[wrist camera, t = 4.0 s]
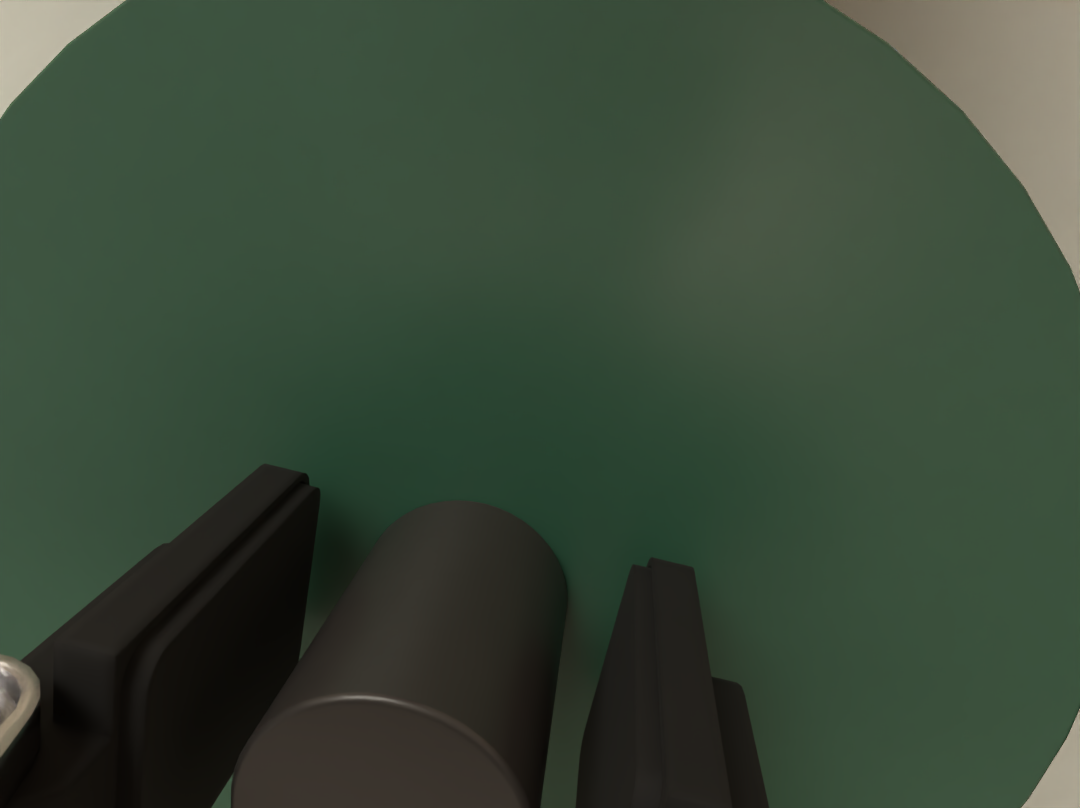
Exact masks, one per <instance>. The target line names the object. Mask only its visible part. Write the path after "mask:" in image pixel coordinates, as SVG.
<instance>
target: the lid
mask: <svg viewBox="0 0 1080 808" xmlns="http://www.w3.org/2000/svg"><path fill="white" fill-rule="evenodd" d="M263 464H269V465H274V466H278V467H282V468H286V469H290V470H294V471H298V472H303V473H307V475H308V477H309V483H310V484H309V485H310V486H314V487H318V488H319V489H320V493H321V498H320V507H319V514H318V522H317V529H316V537H315V544H314V552H313V559H312V567H311V575H310V582H309V590H308V597H307V605H306V612H305V620H304V627H303V635H302V642H301V650H300V657H299V662H298V664H297V665H296V667H295V668H294V670H293V672H292V673H291V675H290V676H289V678H288V679H287V681H286V682H285V684H284V685H283V687H282V689H281V690H280V692H279V693H278V695H277V696H276V698H275V699H274V701H273V702H272V704H271V705H270V707H269V709H268V710H267V712H266V713H265V715H264V716H263V718H262V719H261V721H260V722H259V724H258V726H257V727H256V729H255V730H254V732H253V733H252V735H251V736H250V738H249V739H248V741H247V743H246V744H245V746H244V748H243V750H242V751H241V753H240V755H239V758H238V760H237V763H236V766H235V768H234V773H233V774H232V776H231V778H230V779H229V781H228V782H227V784H226V785H225V787H224V789H223V790H222V792H221V793H220V795H219V796H218V798H217V800H216V801H215V803H214V804H213V806H212V807H211V808H575V807H576V795H577V782H578V770H579V758H580V750H581V744H582V739H583V735H584V730H585V727H586V723H587V719H588V716H589V712H590V709H591V705H592V702H593V698H594V695H595V691H596V688H597V684H598V681H599V677H600V674H601V670H602V667H603V663H604V660H605V656H606V652H607V649H608V645H609V642H610V638H611V635H612V631H613V628H614V624H615V621H616V617H617V614H618V610H619V607H620V603H621V600H622V596H623V593H624V589H625V586H626V582H627V578H628V575H629V572H630V569H631V567H632V565H633V564H635V565H640V566H644V567H646V566H647V564H648V561H649V559H650V558H651V557H653V558H658V559H662V560H666V561H670V562H674V563H678V564H682V565H686V566H691V567H693V568H694V571H695V577H696V583H697V589H698V596H699V602H700V608H701V614H702V621H703V627H704V633H705V639H706V646H707V652H708V658H709V664H710V671H711V676H712V677H716V678H720V679H724V680H728V681H732V682H737V683H738V684H740V685H741V686H742V688H743V691H744V694H745V698H746V703H747V707H748V712H749V716H750V721H751V726H752V730H753V735H754V740H755V744H756V749H757V753H758V758H759V763H760V767H761V772H762V776H763V781H764V786H765V790H766V795H767V800H768V804H769V808H1021V807H1022V806H1023V805H1024V803H1025V802H1026V801H1027V800H1028V799H1029V797H1030V796H1031V794H1032V792H1033V791H1034V789H1035V788H1036V786H1037V784H1038V783H1039V781H1040V780H1041V778H1042V776H1043V775H1044V773H1045V772H1046V770H1047V769H1048V767H1049V765H1050V764H1051V762H1052V761H1053V759H1054V757H1055V756H1056V754H1057V753H1058V751H1059V749H1060V748H1061V746H1062V745H1063V743H1064V741H1065V740H1066V738H1067V736H1068V734H1069V732H1070V729H1071V727H1072V725H1073V722H1074V720H1075V718H1076V716H1077V713H1078V711H1079V709H1080V291H1079V288H1078V286H1077V283H1076V281H1075V278H1074V275H1073V273H1072V270H1071V268H1070V266H1069V264H1068V262H1067V261H1066V259H1065V257H1064V255H1063V254H1062V252H1061V250H1060V248H1059V247H1058V245H1057V243H1056V242H1055V240H1054V238H1053V236H1052V235H1051V233H1050V231H1049V229H1048V228H1047V226H1046V224H1045V223H1044V221H1043V219H1042V217H1041V216H1040V214H1039V212H1038V210H1037V209H1036V207H1035V205H1034V203H1033V202H1032V200H1031V198H1030V197H1029V195H1028V193H1027V191H1026V190H1025V188H1024V186H1023V185H1022V184H1021V182H1020V181H1019V180H1018V179H1017V177H1016V176H1015V175H1014V174H1013V173H1012V171H1011V170H1010V169H1009V168H1008V166H1007V165H1006V164H1005V163H1004V161H1003V160H1002V159H1001V158H1000V156H999V155H998V154H997V153H996V152H995V150H994V149H993V148H992V147H991V145H990V144H989V143H988V142H987V140H986V139H985V138H984V137H983V135H982V134H981V133H980V132H979V130H978V129H977V128H976V127H975V126H974V124H973V123H972V122H971V121H970V119H969V118H968V117H967V116H966V114H965V113H964V112H963V111H962V110H961V109H960V108H959V107H958V106H957V105H956V104H955V103H954V102H952V101H951V100H950V99H949V98H948V97H947V96H946V95H945V94H944V93H943V92H941V91H940V90H939V89H938V88H937V87H936V86H935V85H934V84H933V83H932V82H930V81H929V80H928V79H927V78H926V77H925V76H924V75H923V74H922V73H921V72H919V71H918V70H917V69H916V68H915V67H914V66H913V65H912V64H911V63H910V62H908V61H907V60H906V59H905V58H904V57H903V56H902V55H901V54H900V53H899V52H897V51H896V50H895V49H894V48H893V47H892V46H891V45H890V44H889V43H887V42H886V41H884V40H883V39H881V38H880V37H878V36H877V35H875V34H874V33H872V32H871V31H869V30H868V29H866V28H865V27H863V26H862V25H860V24H859V23H857V22H856V21H854V20H853V19H851V18H850V17H848V16H847V15H845V14H844V13H842V12H841V11H839V10H838V9H836V8H835V7H833V6H832V5H830V4H829V3H827V2H826V1H824V0H126V1H124V2H123V3H122V4H120V5H119V6H118V7H116V8H115V9H114V10H112V11H111V12H110V13H108V14H107V15H106V16H104V17H103V18H102V19H100V20H99V21H98V22H97V23H95V24H94V25H93V26H91V27H90V28H89V29H87V30H86V31H85V32H83V33H82V34H81V35H79V36H78V37H77V38H75V39H74V40H73V41H71V42H70V43H69V44H68V45H67V46H66V47H65V48H64V49H63V50H62V51H61V52H60V53H59V54H58V55H57V56H56V57H55V58H54V59H53V60H52V61H51V62H50V63H49V64H48V65H47V66H46V68H45V69H44V70H43V71H42V72H41V73H40V74H39V75H38V76H37V77H36V78H35V79H34V80H33V81H32V82H31V83H30V84H29V85H28V86H27V87H26V88H25V89H24V90H23V91H22V93H21V94H20V95H19V96H18V97H17V98H16V99H15V100H14V101H13V102H12V103H11V104H10V106H9V107H8V108H7V110H6V111H5V113H4V114H3V116H2V117H1V119H0V654H1V655H5V656H10V657H14V658H15V659H17V660H19V661H20V660H22V659H23V658H24V657H25V656H26V655H28V654H29V653H30V652H31V651H32V650H34V649H35V648H36V647H37V646H38V645H40V644H41V643H42V642H43V641H44V640H46V639H47V638H48V637H49V636H50V635H52V634H53V633H54V632H55V631H56V630H58V629H59V628H60V627H61V626H62V625H64V624H65V623H66V622H67V621H68V620H70V619H71V618H72V617H73V616H74V615H76V614H77V613H78V612H79V611H80V610H82V609H83V608H84V607H85V606H86V605H88V604H89V603H90V602H91V601H92V600H94V599H95V598H96V597H97V596H98V595H100V594H101V593H102V592H103V591H104V590H106V589H107V588H108V587H109V586H110V585H112V584H113V583H114V582H115V581H116V580H118V579H119V578H120V577H121V576H122V575H124V574H125V573H126V572H127V571H128V570H130V569H131V568H132V567H133V566H134V565H136V564H137V563H138V562H139V561H140V560H142V559H143V558H144V557H145V556H146V555H148V554H149V553H150V552H151V551H152V550H154V549H155V548H157V547H158V546H160V545H162V544H163V543H170V542H171V541H172V540H173V539H174V538H176V537H177V536H178V535H179V534H180V533H182V532H183V531H184V530H185V529H186V528H187V527H189V526H190V525H191V524H192V523H193V522H195V521H196V520H197V519H198V518H199V517H200V516H202V515H203V514H204V513H205V512H206V511H208V510H209V509H210V508H211V507H212V506H213V505H215V504H216V503H217V502H218V501H219V500H221V499H222V498H223V497H224V496H225V495H226V494H228V493H229V492H230V491H231V490H232V489H234V488H235V487H236V486H237V485H238V484H239V483H241V482H242V481H243V480H244V479H245V478H246V477H248V476H249V475H250V474H251V473H252V472H254V471H255V470H256V469H257V468H258V467H259V466H261V465H263Z"/></svg>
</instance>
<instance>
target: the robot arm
mask: <svg viewBox="0 0 1080 808" xmlns="http://www.w3.org/2000/svg"><path fill="white" fill-rule="evenodd" d="M309 484H310V483H309V477H308V475H307V473H303V472H298V471H294V470H290V469H286V468H282V467H278V466H274V465H269V464H263V465H261V466H259V467H258V468H257V469H256V470H255V471H254V472H252V473H251V474H250V475H249V476H248V477H246V478H245V479H244V480H243V481H242V482H241V483H239V484H238V485H237V486H236V487H235V488H234V489H232V490H231V491H230V492H229V493H228V494H226V495H225V496H224V497H223V498H222V499H221V500H219V501H218V502H217V503H216V504H215V505H213V506H212V507H211V508H210V509H209V510H208V511H206V512H205V513H204V514H203V515H202V516H200V517H199V518H198V519H197V520H196V521H195V522H193V523H192V524H191V525H190V526H189V527H187V528H186V529H185V530H184V531H183V532H182V533H180V534H179V535H178V536H177V537H176V538H174V539H173V540H172V541H171V542H170V543H163V544H162V545H160V546H158V547H157V548H155V549H154V550H152V551H151V552H150V553H149V554H148V555H146V556H145V557H144V558H143V559H142V560H140V561H139V562H138V563H137V564H136V565H134V566H133V567H132V568H131V569H130V570H128V571H127V572H126V573H125V574H124V575H122V576H121V577H120V578H119V579H118V580H116V581H115V582H114V583H113V584H112V585H110V586H109V587H108V588H107V589H106V590H104V591H103V592H102V593H101V594H100V595H98V596H97V597H96V598H95V599H94V600H92V601H91V602H90V603H89V604H88V605H86V606H85V607H84V608H83V609H82V610H80V611H79V612H78V613H77V614H76V615H74V616H73V617H72V618H71V619H70V620H68V621H67V622H66V623H65V624H64V625H62V626H61V627H60V628H59V629H58V630H56V631H55V632H54V633H53V634H52V635H50V636H49V637H48V638H47V639H46V640H44V641H43V642H42V643H41V644H40V645H38V646H37V647H36V648H35V649H34V650H32V651H31V652H30V653H29V654H28V655H26V656H25V657H24V658H23V659H22V660H20V661H19V660H17V659H15V658H14V657H10V656H5V655H1V654H0V808H211V807H212V806H213V804H214V803H215V801H216V800H217V798H218V796H219V795H220V793H221V792H222V790H223V789H224V787H225V785H226V784H227V782H228V781H229V779H230V778H231V776H232V774H233V773H234V768H235V766H236V763H237V760H238V758H239V755H240V753H241V751H242V750H243V748H244V746H245V744H246V743H247V741H248V739H249V738H250V736H251V735H252V733H253V732H254V730H255V729H256V727H257V726H258V724H259V722H260V721H261V719H262V718H263V716H264V715H265V713H266V712H267V710H268V709H269V707H270V705H271V704H272V702H273V701H274V699H275V698H276V696H277V695H278V693H279V692H280V690H281V689H282V687H283V685H284V684H285V682H286V681H287V679H288V678H289V676H290V675H291V673H292V672H293V670H294V668H295V667H296V665H297V664H298V662H299V657H300V650H301V642H302V635H303V627H304V620H305V612H306V605H307V597H308V590H309V582H310V575H311V567H312V559H313V552H314V544H315V537H316V529H317V522H318V514H319V507H320V498H321V493H320V489H319V488H318V487H314V486H310V485H309ZM575 808H769V804H768V800H767V795H766V790H765V786H764V781H763V776H762V772H761V767H760V763H759V758H758V753H757V749H756V744H755V740H754V735H753V730H752V726H751V721H750V716H749V712H748V707H747V703H746V698H745V694H744V691H743V688H742V686H741V685H740V684H738V683H737V682H732V681H728V680H724V679H720V678H716V677H712V676H711V671H710V664H709V658H708V652H707V646H706V639H705V633H704V627H703V621H702V614H701V608H700V602H699V596H698V589H697V583H696V577H695V571H694V568H693V567H691V566H686V565H682V564H678V563H674V562H670V561H666V560H662V559H658V558H653V557H651V558H650V559H649V561H648V564H647V566H646V567H644V566H640V565H635V564H633V565H632V567H631V569H630V572H629V575H628V578H627V582H626V586H625V589H624V593H623V596H622V600H621V603H620V607H619V610H618V614H617V617H616V621H615V624H614V628H613V631H612V635H611V638H610V642H609V645H608V649H607V652H606V656H605V660H604V663H603V667H602V670H601V674H600V677H599V681H598V684H597V688H596V691H595V695H594V698H593V702H592V705H591V709H590V712H589V716H588V719H587V723H586V727H585V730H584V735H583V739H582V744H581V750H580V758H579V770H578V782H577V795H576V807H575Z"/></svg>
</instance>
